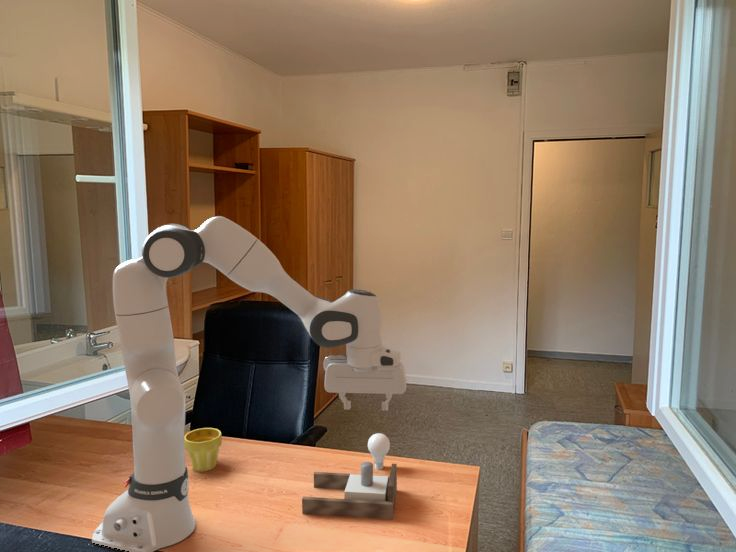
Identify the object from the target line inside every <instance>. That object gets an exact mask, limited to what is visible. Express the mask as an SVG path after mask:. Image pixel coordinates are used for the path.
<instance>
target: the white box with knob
mask: <svg viewBox="0 0 736 552" xmlns="http://www.w3.org/2000/svg"><path fill="white" fill-rule="evenodd" d="M349 474H350V476H349V479H348V482H347V485H346V488H345V489H344V499H353V500H369V501H386V502H388V476H389V475H383V476H378V474H374V463H372V462H370V461H364V462H362V463H360V473H349ZM359 474H361V475H359Z"/></svg>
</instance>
